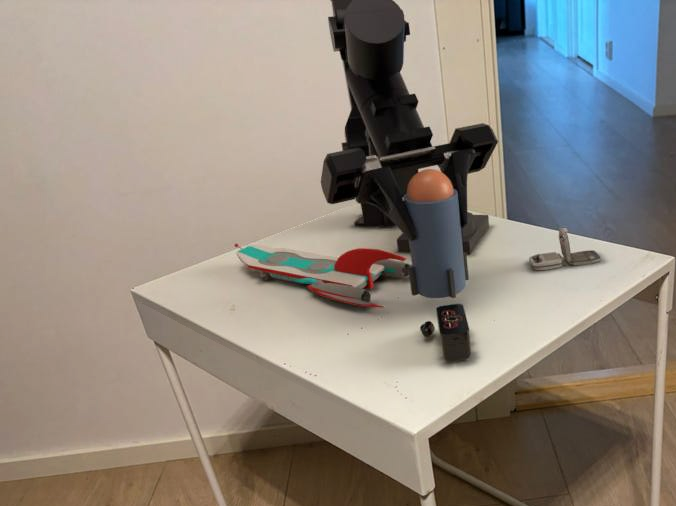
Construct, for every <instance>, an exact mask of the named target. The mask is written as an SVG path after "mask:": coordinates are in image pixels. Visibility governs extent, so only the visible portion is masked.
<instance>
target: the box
mask: <svg viewBox="0 0 676 506" xmlns="http://www.w3.org/2000/svg"><path fill="white" fill-rule="evenodd" d="M467 216H468V223H467V225H466V227H465V228H462V227H461V236H462V247H463V253H464V252H465V253H466V254H467V255H472V253H473V251H474V250H475V248H476V247H477V245H478V244H479V242H481V240H482V239H483V237H484V236H485V234H486V232H487V231H488V230H489V228H490V219H489V214H473V213H472V212H469V211H467ZM396 245H397V252H398V253H410V245H409V239H408V238H407V237H406V235H405V234H404V233H403V232H401V234H400V235H399V237H397V238H396Z"/></svg>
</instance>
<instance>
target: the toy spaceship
mask: <svg viewBox="0 0 676 506" xmlns="http://www.w3.org/2000/svg"><path fill="white" fill-rule="evenodd" d="M234 247H235V248H239V250H237V251H235V254H236V256H237V258H238V259H239V261H240V262H241V263H242V264H243V266H245V267H246V268H247V269H249V270H250V271H252V272H254V273H255V272H256V273H259V276H260V278H261V280H262V281H268V280H269V278H270V277H271V278H273V279H277V280H282V281H288V282H293V283H298V284H305V285H306V284H307V285H306V288H308V289H309V290H310V291H311V292H312V293H314V294H315V295H317V296H321V297H323V298H325V299H328V300H332V301H335V302H340V303H344V304H348V305H354V306H358V307H369V308H381V309H383V308H385V305H380V304H377V303H372V302H371V299H372V296H371V292H370V291H369V290H372V289H373V288H374V283H373V282H375V281H376V280H378V279H379V278H380V276H385V277H393V278H398V279H408V278H409V271H408V267H412V263H411V264H410V263H407V262H406V260H407V258H406V257H404V256H402V255H400V254H395V253H393V252H389V251H386V250H383V249H378V248H376V249H375V248H364V247H363V248H362V247H361V248H360V247H359V248H353V249H350V250H347V251H346V252H344V253H342V254H341V255H339V257H336V256H330V255H325V254H319V253H313V252H307V251H301V250H296V249H290V248H285V247H273V246H265V245H256V244H251V245H248V246H246V247H244V248H242V247H241V246H240V245H239V243H234ZM404 261H405V262H404Z"/></svg>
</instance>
